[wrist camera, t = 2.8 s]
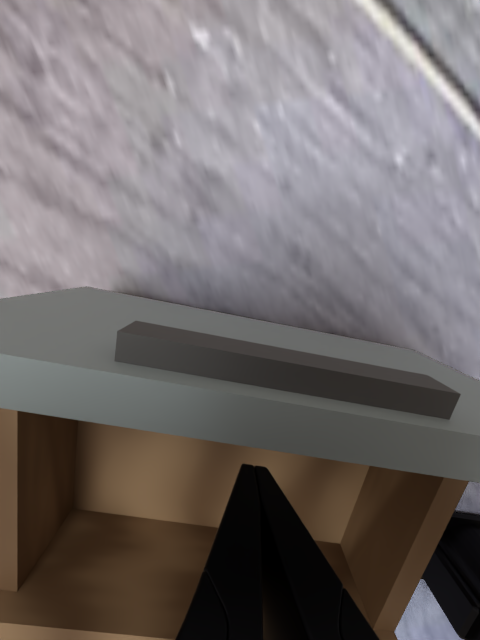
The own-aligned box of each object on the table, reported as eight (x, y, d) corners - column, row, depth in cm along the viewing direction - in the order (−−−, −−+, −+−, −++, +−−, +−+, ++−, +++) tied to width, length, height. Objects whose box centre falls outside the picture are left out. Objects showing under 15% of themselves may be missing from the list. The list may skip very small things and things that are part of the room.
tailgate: (418, 338, 13) (679, 441, 6) (406, 369, 14) (634, 507, 6) (87, 272, 12) (-180, 286, 4) (85, 309, 12) (-164, 382, 5)
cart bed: (400, 365, 16) (526, 441, 9) (339, 528, 19) (399, 677, 12) (84, 305, 14) (-50, 342, 8) (72, 492, 17) (-31, 638, 11)
